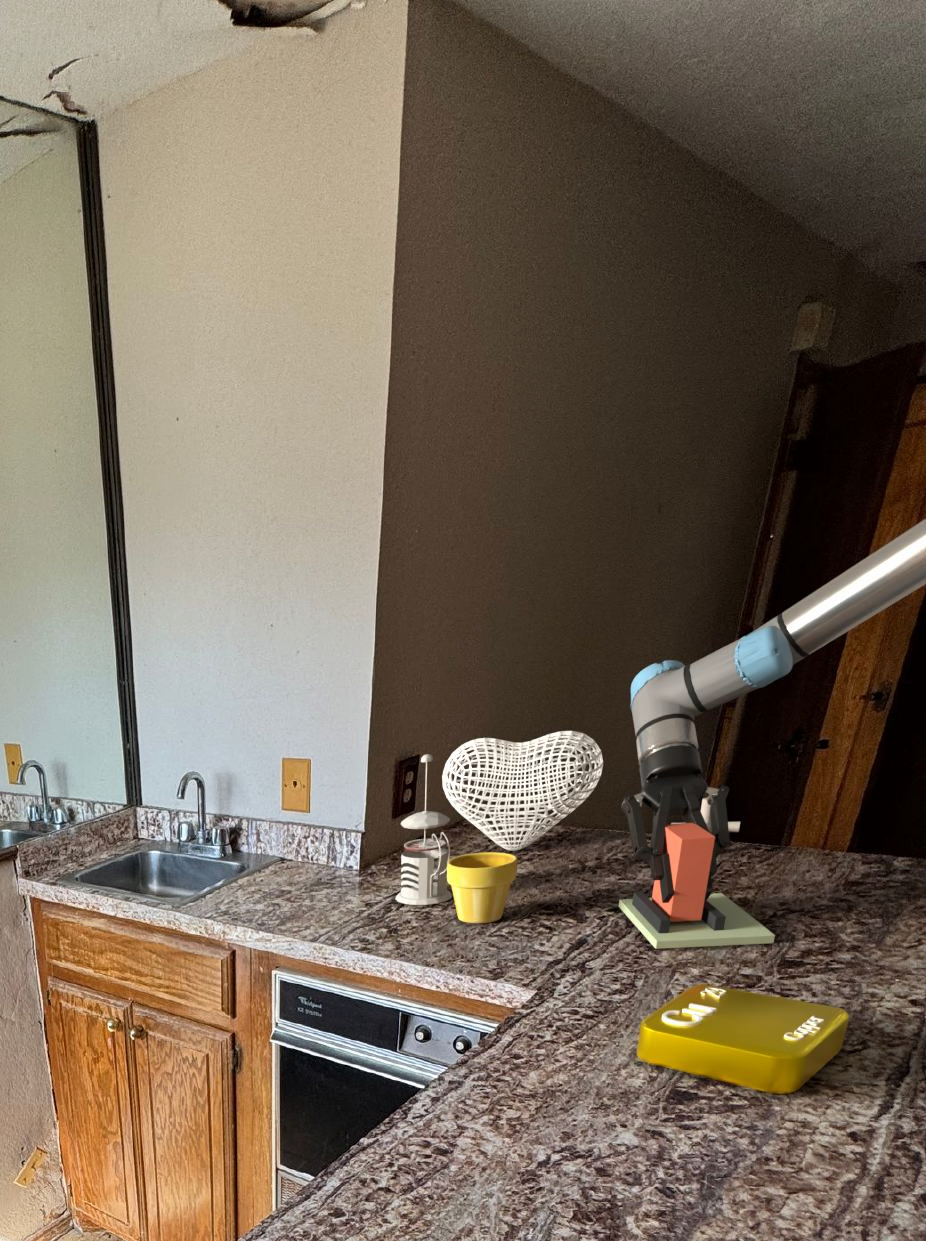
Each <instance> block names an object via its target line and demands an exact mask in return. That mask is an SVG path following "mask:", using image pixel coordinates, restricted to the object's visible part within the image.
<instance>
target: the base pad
mask: <svg viewBox="0 0 926 1241" xmlns="http://www.w3.org/2000/svg"><path fill="white" fill-rule="evenodd" d="M618 900H619V901H618V908H619V909H620V910H621V912H623V913H624V914H625V916H626V917H627V918H628V919H629V920H630V921H631V923H632V924H633V925H634V926H635V927H636V928H637V929H638V931H639V932H641V934H642V935H643V936H644V938H646V940H647V941H648V942H649V943H650V944H651V945H652V946H653V948H655V949H656V950H660V949H683V948H685V949H686V948H705V947H723V946H726V947H727V946H745V945H746V946H747V945H767V944H774V943H775V938H776V935H775V934H774V933H773V932H772V931H770V930H769V929H768V928H767V927H766V926H764V925H763V924H762V923H760V922H759V921H758V920H757V919H755V918H754V917H753V916H752V915H750V914H749V913H748V912H746V911H745V910H744V909H743V908H741V906H739V905H737V904H736V903H735V902H734V901H733V900H731V899H730V898H729V897H728V896H727V895H725V894H724V893H721V892H718V893H712V894H711V895H710V896H709V898H708V899H707V900H705V901H704V907H703V913H702V919H701V920H696V921H677V922H670V919H669V918H668V917H667V916H666V915H665V914H664V913H663V912H662V911H661V910H660V909H659V908H658V907H657V906H656V905H655V904H654V903H653V902H652V897H648V896H647V895H646V893H644V891H634V892H633V895H632V898H625V899H624V898H622V899H618Z"/></svg>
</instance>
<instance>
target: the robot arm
mask: <svg viewBox="0 0 926 1241" xmlns="http://www.w3.org/2000/svg"><path fill="white" fill-rule="evenodd" d="M925 585H926V518H924V519H923V520H921V521H919V522H918V523H916V524H915V525H913V526H911V527H910V528H909V529H907V530H905V531H904V532H903V533H901V534H900V535H898V536H896V537H895V538H894V539H892V540H891V541H888V542H887V543H885V544H884V545H883V546H881V547H879V549H877V550H875V551H873V552H872V553H871V554H869V555H867V556H866V557H865V558H863V559H861V560H860V561H859V562H857V563H855V564H854V565H852V566H851V567H849V568H848V569H846V570H845V571H844V572H842V573H840V574H839V575H837V576H836V577H834V578H833V579H831V580H830V581H828V582H827V583H825V584H823V585H822V586H820V587H818V588H817V589H816V590H815V591H813V592H811V593H810V594H808V595H807V596H805V597H804V598H802V599H801V600H799V601H798V602H796V603H795V604H793V605H792V606H790V607H788V608H787V609H785V610H784V611H783V612H782V613H780V614H778V615H777V616H775V617H773V618H771V619H770V620H768V621H767V622H765V623H764V624H762V625H761V626H759V627H758V628H756V629H755V630H753V631H751V632H750V633H748V634H746V635H744V636H742V637H741V638H738V639H737V640H735V641H733V642H731V643H729V644H727V645H725V646H722V647H721V648H719V649H717V650H715V651H713V652H711V653H710V654H708V655H706V656H704V657H702V658H700V659H698V660H695V661H694V662H691V663H689V664H687V665H685V664H684V663H683V662H681V661H679V660H673V659H669V660H667V659H666V660H664V661H662V662H661V663H658V662H654V663H652V664H649V665H648V666H646V667H644V668H643V669H642V670H640V671H638V673H637V674H636V675H635V676H634V678H633V680H632V682H631V685H630V711H631V714H632V720H633V726H634V727H633V729H634V734H635V742H636V750H637V759H638V765H639V768H638V769H639V776H640V784H641V790H640V792H639V793H637V794H631V793H630V794H627V795H626V796H624V799H623V802H622V803H621V805H620V809H621V811H622V812H623V813H624V815H625V816H626V817H627V818H626V819H627V824H628V830H629V836H630V843H631V848H632V854H633V858H634V859H635V860H636V861H640V860H645V861H646V864H647V865H648V866H649V867H650V868H649V869H650V875H651V880H652V881H655V880H660V888H661V896H662V903H668V902H669V901H670V899H671V898H672V896H673V895H674V888H673V880H672V872H671V865H670V857H669V854H663V855H662V852H663V845H664V838H665V831H666V830H665V827H666V825H668V824H667V823H668V817H670V816H673V815H674V816H680V817H681V819H682V821H683V823H694V824H697V825H698V826H700V827H701V828H703V829H704V830H706V831H707V832H709V829H708V827H707V825H706V823H705V820H704V818H703V816H702V813H701V805H700V801H701V799H703V798H707V802H708V805H711V807H710V818H711V828H712V833H710V832H709V833H710V834H712V835H713V836H715V842H714V848H713V854H712V860H711V866H710V872H709V878H708V884H707V889H706V895H705V900H707V899H708V898H709V896H710V895H711V894H713V892H714V887H713V881H712V878H713V877H714V876H715V875H716V874H717V872H718V864H717V856H716V855H721V854H723V853H725V850H726V849H727V848H728V846H729V845H730V843H731V838H730V832H729V828H728V822H729V821H728V819H729V818H728V809H727V803H726V802H727V801H726V800H727V798H728V794H729V792H730V787H729V786H727V785H722V786H720V788H716V787H710V786H709V785H708V782H706V781H705V780H704V778H703V770H702V764H701V763H702V762H701V757H700V752H699V743H698V737H697V731H696V724H695V718H696V717H697V716H699V715H702V714H704V713H706V712H709V711H711V710H712V709H714V708H717V707H719V706H721V705H724V704H726V703H728V702H731V701H733V700H735V699H737V698H739V697H740V698H741V697H743V696H744V695H746V694H748V693H752V692H753V691H755V690H758V689H762V688H765V687H767V686H768V685H770V684H772V683H773V682H775V681H777V680H778V679H781V678H783V677H785V676H787V675H788V674H789V673H790V672H791V671H792V669H793V666H794V665H795V664H797V663H798V662H800V661H802V660H803V659H805V658H806V657H808V656H809V655H811V654H812V653H815V652H816V651H817V650H820V649H821V648H823V647H824V646H826V645H827V644H829V643H830V642H832V641H834V640H836V639H837V638H839V637H841V636H842V635H844V634H846V633H847V632H849V631H850V630H853V629H854V628H856V627H857V626H859V625H860V624H862V623H863V622H866V621H867V620H869V619H871V618H872V617H874V616H875V615H877V614H879V613H880V612H882V611H884V610H886V609H887V608H888V607H890V606H892V605H893V604H895V603H897V602H898V601H900V600H901V599H903V598H905V597H907V596H908V595H910V594H912V593H913V592H915V591H917V590H918V589H920V588H921V587H923V586H925ZM643 804H644V805H645V806H646V807H648V808H649V809H650V810H651V811H652V812H653V817H652V830H651V836H650V844H648V838H647V833H646V829H645V822H644V815H643V810H642V805H643Z"/></svg>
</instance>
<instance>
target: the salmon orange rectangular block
mask: <svg viewBox="0 0 926 1241" xmlns="http://www.w3.org/2000/svg"><path fill="white" fill-rule="evenodd" d="M679 823H680V824H671V823H669V824H666V827H665V830H666V831H665V838H664V845H663V852H662V855H663V854H669V857H670V865H671V872H672V880H673V888H674V895H673V896H672V898H671V899H670V901H669V902H668V903H662V896H661V888H660V880H655V881H654V880H653V881H654V882H653V889H652V895H651V898H652V902H653V903H654V904H655V905H656V906H657V907H658V908H659V909H660V910H661V911H662V912H663V913H664V914H665V915H666V916H667V917H668V918H669V919H670V922H677V921H696V920H701V919H702V913H703V907H704V901H705V895H706V889H707V884H708V878H709V872H710V866H711V860H712V854H713V848H714V842H715V836H713V835H712V833H709V832H707V831H706V830H704V829H703V828H701V827H700V826H698V825H697V824H694V823H686V822H679Z"/></svg>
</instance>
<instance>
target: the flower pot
mask: <svg viewBox="0 0 926 1241" xmlns="http://www.w3.org/2000/svg"><path fill="white" fill-rule="evenodd" d="M447 861H448V860H447ZM517 873H518V858H517V856H516V855H514V854H510V853H505V852H495V851H494V852H492V851H490V852H489V851H488V852H487V851H485V852H475V853H473V852H472V853H466V854H461V855H458V856H454V857H452V858H450V860H449V861H448V863H447V877H446V878H447V884H449V885H450V886H451V891H452V894H453V895H452V897H453V900H454V905H455V909H456V915H457V919H458V920H459V921H461V922H463V923H466V924H488V923H493V922H497V921H499V920H501V919H502V916H503V913H504V910H505V905H506V902H507V899H508V895H509V892H510V888H511V885H512V883H513V882H514V881H515V880H516V879H517V875H518V874H517Z"/></svg>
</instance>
